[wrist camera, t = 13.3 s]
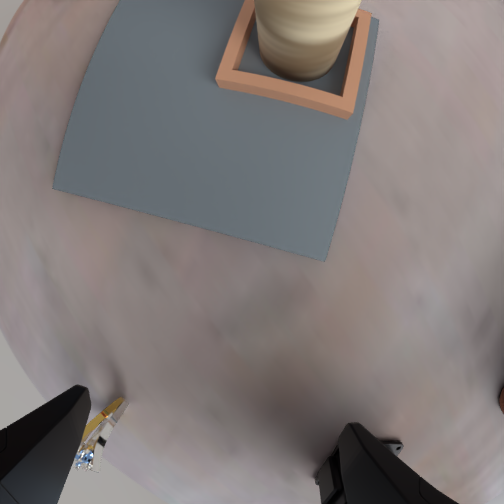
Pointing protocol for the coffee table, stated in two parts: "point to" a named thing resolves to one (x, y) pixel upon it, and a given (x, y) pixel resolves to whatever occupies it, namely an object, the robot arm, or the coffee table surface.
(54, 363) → the coffee table surface
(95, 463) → the ring
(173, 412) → the coffee table surface
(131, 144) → the board
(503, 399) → the wooden figurine
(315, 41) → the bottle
